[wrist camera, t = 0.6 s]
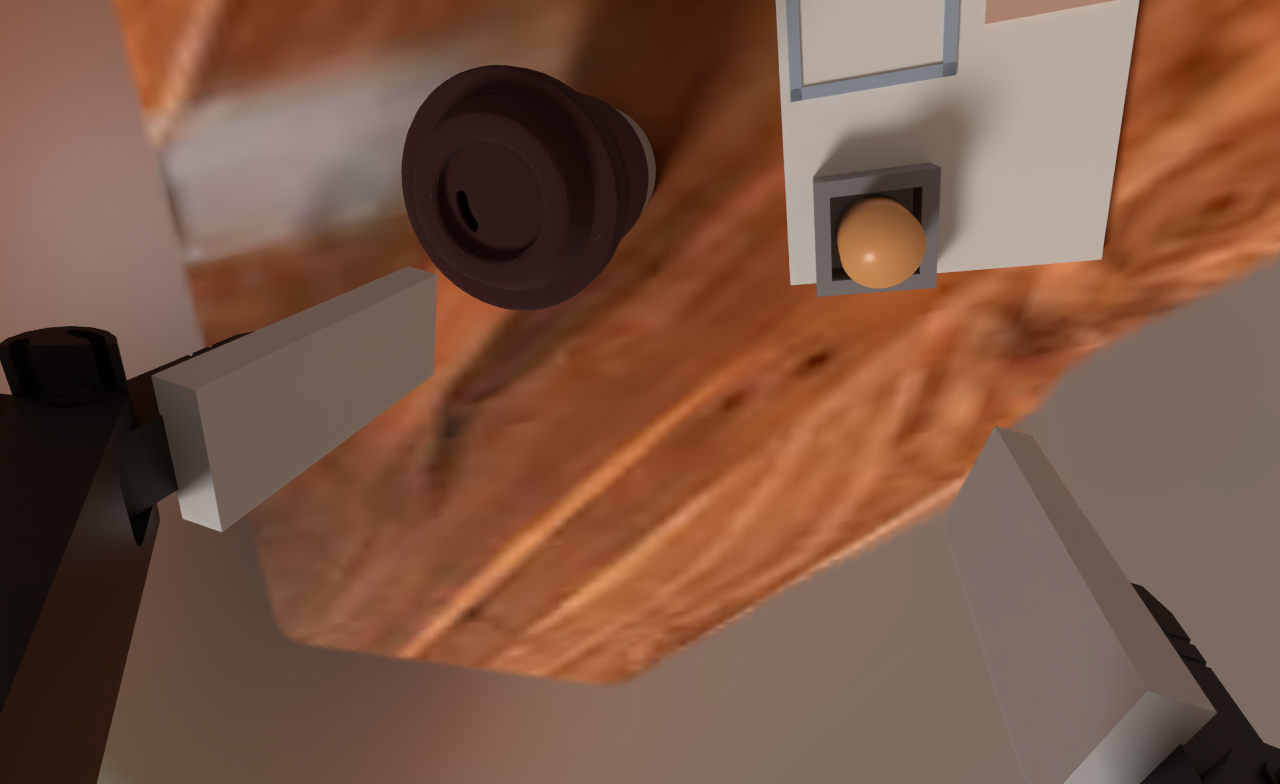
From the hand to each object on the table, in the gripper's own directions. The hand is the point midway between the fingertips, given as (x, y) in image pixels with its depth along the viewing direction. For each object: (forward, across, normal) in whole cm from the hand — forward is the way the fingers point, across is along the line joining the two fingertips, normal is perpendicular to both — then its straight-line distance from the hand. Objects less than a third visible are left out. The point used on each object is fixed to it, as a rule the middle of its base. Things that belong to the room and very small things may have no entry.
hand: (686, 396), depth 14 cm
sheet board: (+25, +7, +10) cm, 28 cm away
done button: (+23, +6, +1) cm, 24 cm away
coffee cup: (+25, -10, 0) cm, 27 cm away
